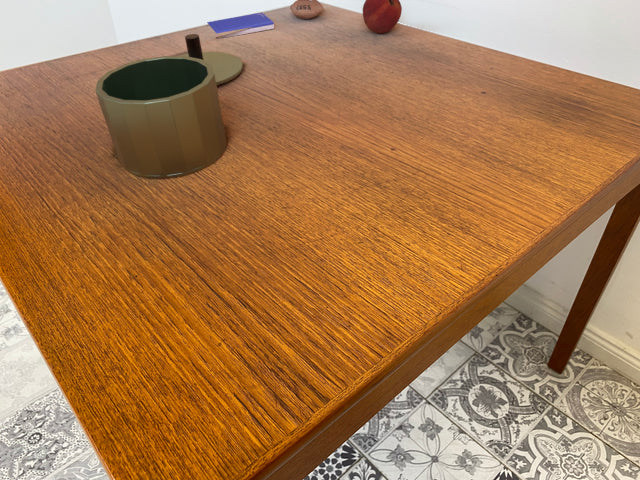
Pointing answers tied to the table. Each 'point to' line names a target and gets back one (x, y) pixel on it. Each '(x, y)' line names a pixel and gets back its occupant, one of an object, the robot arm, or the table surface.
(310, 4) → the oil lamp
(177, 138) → the trash can
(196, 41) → the can lid
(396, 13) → the apple
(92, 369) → the table surface
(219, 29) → the blue book
